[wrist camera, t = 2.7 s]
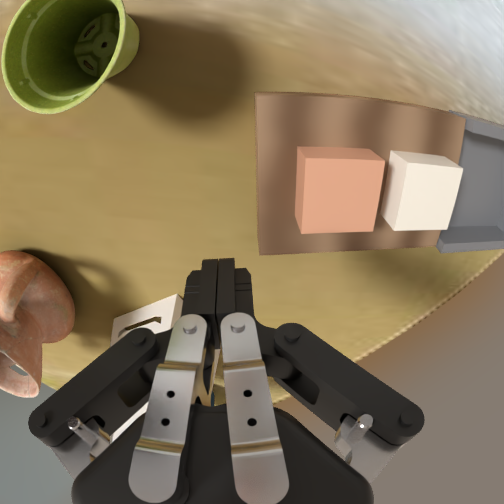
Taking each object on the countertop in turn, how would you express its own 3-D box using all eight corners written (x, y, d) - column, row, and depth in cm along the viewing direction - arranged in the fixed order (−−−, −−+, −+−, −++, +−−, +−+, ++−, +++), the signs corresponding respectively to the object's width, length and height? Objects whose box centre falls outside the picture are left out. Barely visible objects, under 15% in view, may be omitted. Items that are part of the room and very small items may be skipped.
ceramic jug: (65, 339, 39) (38, 416, 27) (-8, 291, 33) (-48, 361, 21) (103, 269, 32) (62, 371, 20) (9, 204, 26) (-63, 283, 14)
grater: (161, 361, 42) (144, 488, 26) (114, 318, 36) (75, 460, 20) (221, 344, 40) (220, 488, 23) (176, 293, 34) (151, 466, 18)
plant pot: (111, -22, 14) (62, -46, 7) (184, 34, 19) (158, 20, 12) (45, 59, 18) (-17, 70, 11) (110, 115, 22) (60, 142, 15)
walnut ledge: (447, 111, 22) (466, 118, 20) (423, 231, 31) (435, 246, 28) (254, 92, 22) (256, 95, 20) (257, 237, 30) (259, 255, 28)
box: (523, 132, 23) (544, 144, 19) (496, 231, 31) (513, 247, 28) (449, 110, 22) (474, 119, 19) (424, 233, 31) (441, 253, 27)
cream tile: (444, 156, 22) (463, 168, 20) (431, 213, 26) (447, 229, 23) (390, 150, 22) (407, 162, 20) (380, 213, 26) (393, 230, 23)
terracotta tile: (369, 148, 22) (385, 160, 20) (360, 213, 26) (372, 231, 23) (297, 146, 22) (305, 158, 19) (294, 215, 25) (301, 233, 23)
